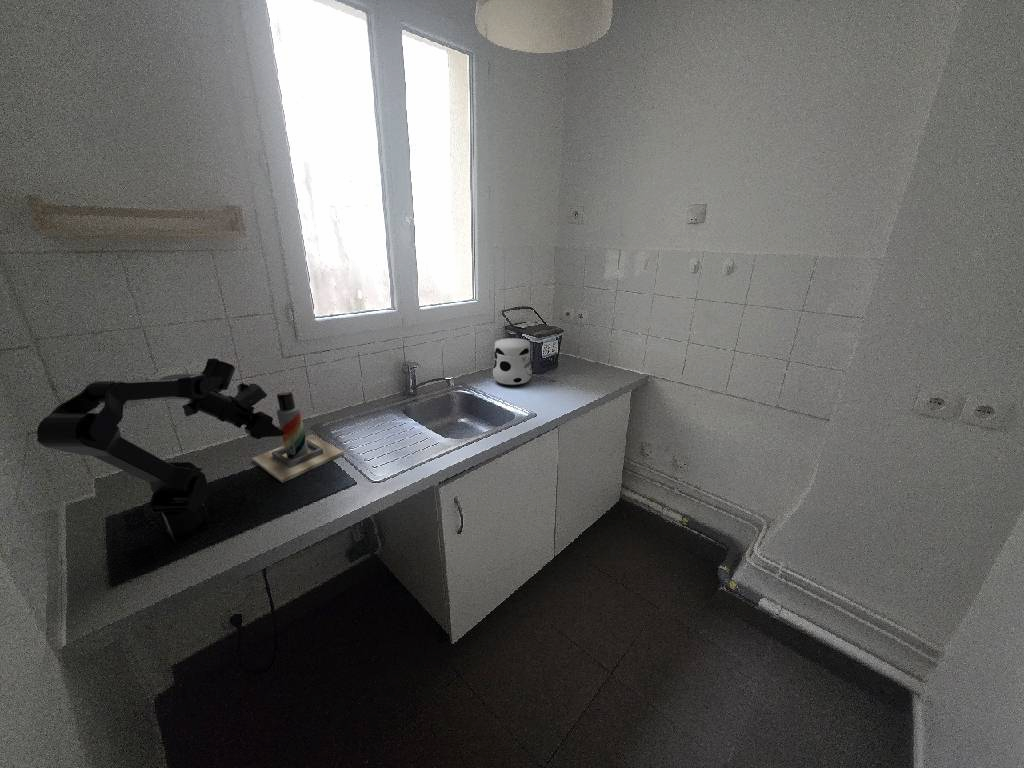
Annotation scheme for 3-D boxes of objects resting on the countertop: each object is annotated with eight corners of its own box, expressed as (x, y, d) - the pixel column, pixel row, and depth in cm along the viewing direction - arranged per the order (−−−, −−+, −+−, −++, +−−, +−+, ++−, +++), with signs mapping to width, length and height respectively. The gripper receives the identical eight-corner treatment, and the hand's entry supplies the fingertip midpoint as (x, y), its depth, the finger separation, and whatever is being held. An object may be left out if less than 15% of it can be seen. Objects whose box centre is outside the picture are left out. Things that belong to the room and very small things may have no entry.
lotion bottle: (285, 461, 114) (270, 397, 107) (289, 451, 119) (275, 390, 112) (306, 458, 116) (293, 395, 108) (310, 449, 121) (297, 388, 113)
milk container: (539, 384, 175) (540, 344, 168) (504, 391, 166) (504, 350, 160) (518, 372, 188) (519, 335, 182) (486, 379, 180) (485, 340, 174)
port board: (282, 482, 106) (280, 475, 105) (252, 461, 116) (250, 453, 115) (343, 454, 120) (342, 447, 119) (312, 437, 130) (311, 430, 129)
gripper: (255, 386, 95) (309, 412, 107) (225, 370, 106) (276, 396, 118) (226, 427, 92) (285, 449, 104) (198, 407, 103) (254, 429, 115)
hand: (275, 429), depth 110 cm, fingers open, 9 cm apart
